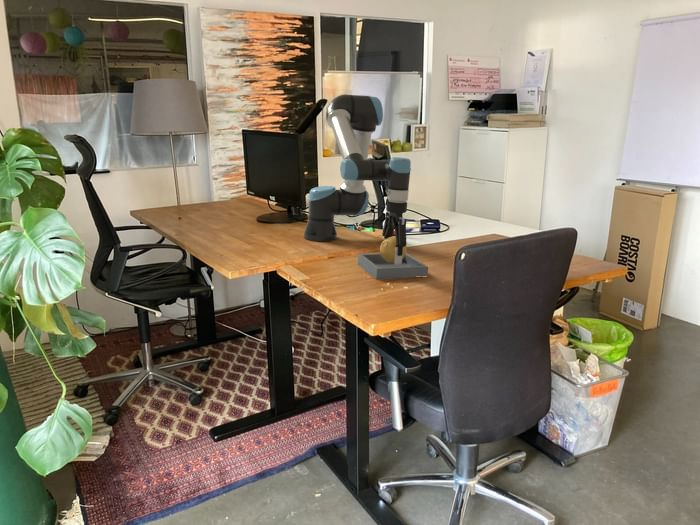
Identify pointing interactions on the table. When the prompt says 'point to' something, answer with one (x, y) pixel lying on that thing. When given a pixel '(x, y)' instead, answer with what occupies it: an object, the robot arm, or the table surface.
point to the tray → (391, 267)
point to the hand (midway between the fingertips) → (392, 259)
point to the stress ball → (390, 249)
